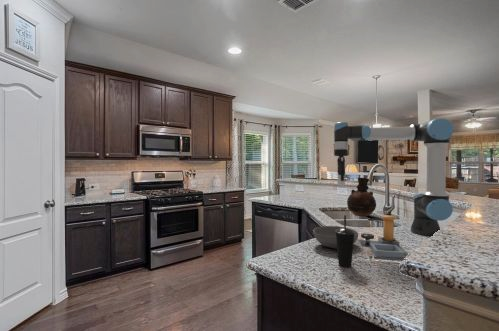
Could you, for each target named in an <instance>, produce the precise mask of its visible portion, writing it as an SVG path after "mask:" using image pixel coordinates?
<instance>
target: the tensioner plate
mask: <svg viewBox="0 0 499 331" xmlns="http://www.w3.org/2000/svg"><path fill="white" fill-rule="evenodd" d="M360 238H361V239H357V241H358V243H359V244H360V246H361V247H362V248H370V243H372V244H389V245H397V246H398V247H399V248H400V249H401V250H404V248H403V246H401V245H400V241H399V240H398V239H396V238H395V237H394V241H383V236H378V237H377V239H378V240H374V239H375V235H374V234H372V233H367V232H366V233H361V234H360Z"/></svg>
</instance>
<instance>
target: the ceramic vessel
mask: <svg viewBox="0 0 499 331" xmlns="http://www.w3.org/2000/svg"><path fill="white" fill-rule="evenodd" d="M369 181H370V178H367V177H358V178H357V183H358V184H357V186H356V189H357V190H355V189H352V190H351V192H350V194H349V196H348V198H347V200H346V204H347V207H348V208H347V209H348V210H349V211H350V212H351V214H353V216H355V217H368V216H370V215H372V213H374V211H375V210H376V208H377V201H376V198H375V197H374V195H373V194H374V192H373V191H368V190H369V186H368V183H369Z"/></svg>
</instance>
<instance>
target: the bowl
mask: <svg viewBox="0 0 499 331" xmlns="http://www.w3.org/2000/svg"><path fill="white" fill-rule="evenodd" d="M340 228H344V226H336V225H329V226H328V225H323V226H317V227H315V228H313V230H312V233H313V236H314V238H315V239H316V241H317V242H318V243H320V245H322V246H323V247H327V248H329V249H336V250H337V240H336V232H335V230H337V229H340ZM347 228H348V229H351V230H353V231H355V234H354V244H355V243H356V242H357V241H358V240H359V239H358V238H359V232H358V231H357V230H355V229H352V228H349V227H347Z"/></svg>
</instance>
